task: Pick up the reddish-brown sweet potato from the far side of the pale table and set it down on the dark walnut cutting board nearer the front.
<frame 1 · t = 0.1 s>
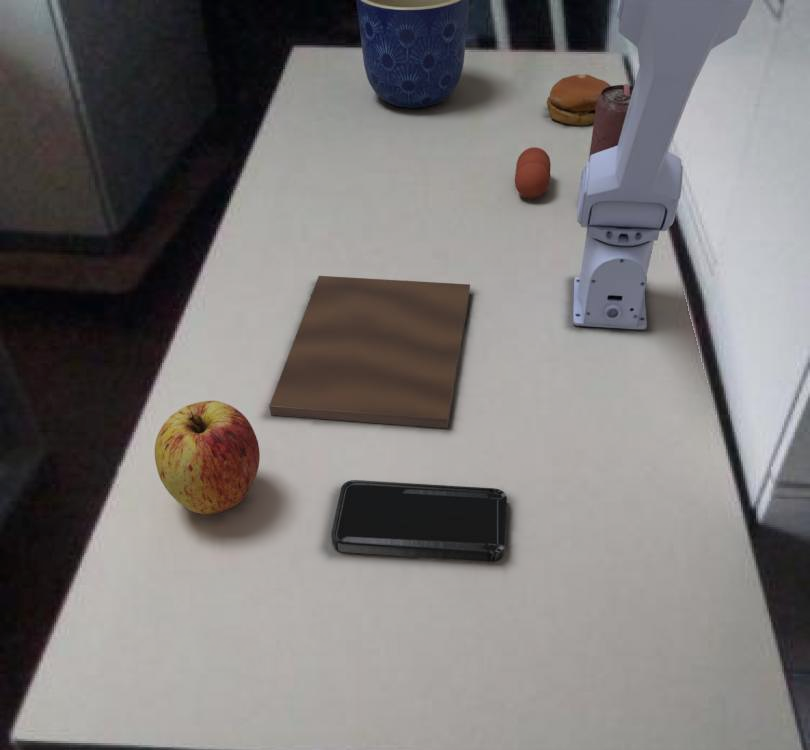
apple: (218, 499, 79), on the table
burger: (577, 114, 132), on the table
planter: (414, 98, 137), on the table
board: (377, 349, 93), on the table
can: (605, 204, 113), on the table
sweet potato: (531, 189, 116), on the table
phone: (420, 524, 76), on the table
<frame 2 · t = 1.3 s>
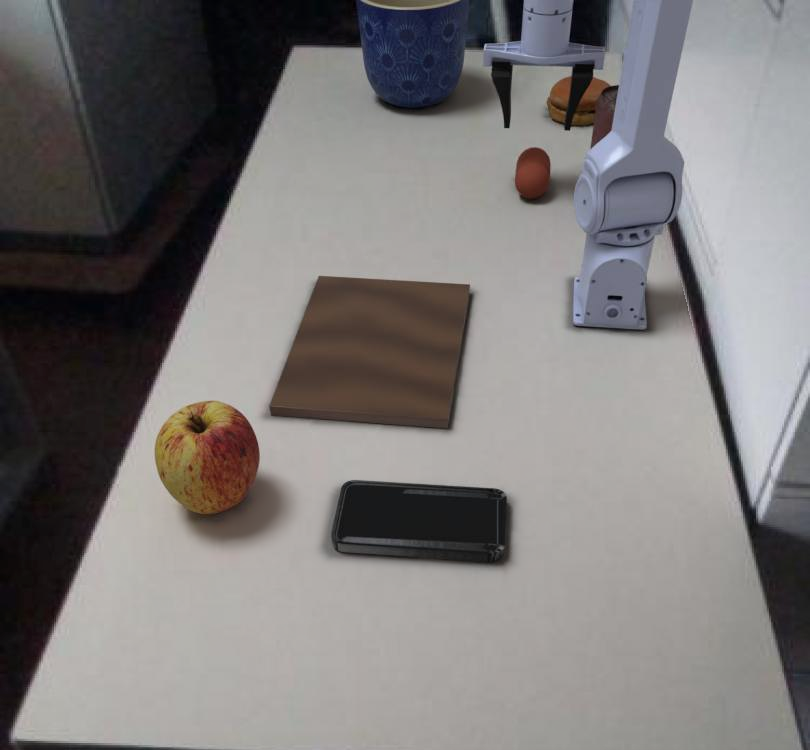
hand: (537, 126, 110), 8 cm above the table, tool pointing down, fingers open, 7 cm apart
nothing on the table moved.
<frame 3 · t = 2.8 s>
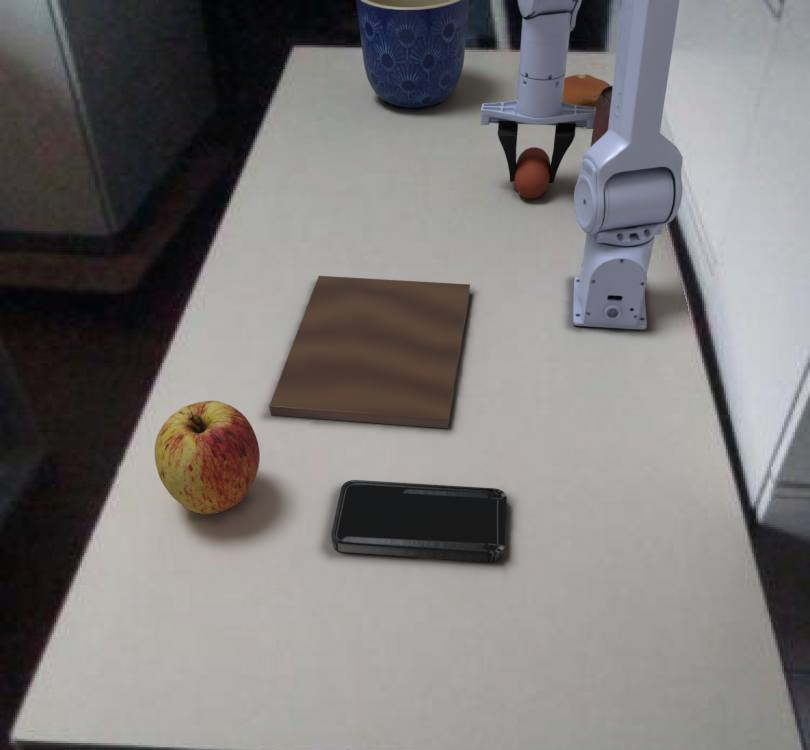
hand: (532, 179, 115), 1 cm above the table, tool pointing down, fingers closed on sweet potato, 4 cm apart
sweet potato: (531, 189, 116), on the table, touching gripper
everything else where it was.
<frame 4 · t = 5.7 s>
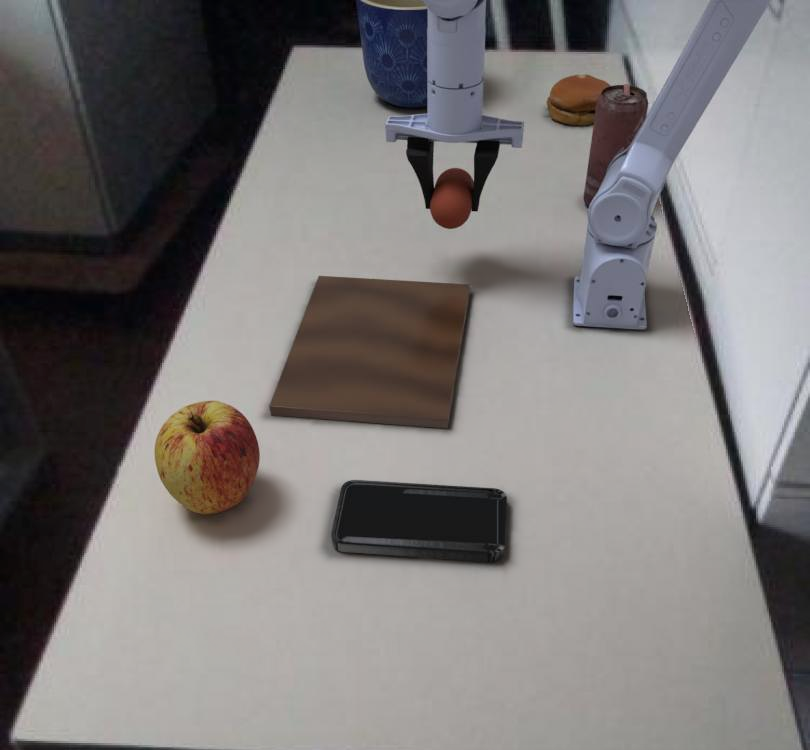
hand: (452, 206, 97), 8 cm above the table, tool pointing down, fingers closed on sweet potato, 4 cm apart
sweet potato: (452, 217, 98), point 7 cm above the table, touching gripper
everything else where it was.
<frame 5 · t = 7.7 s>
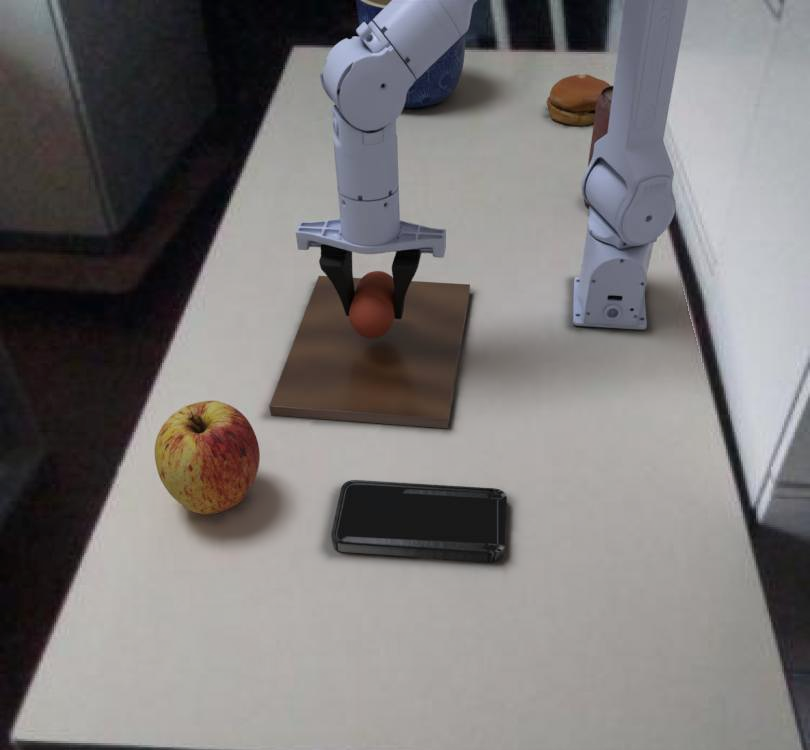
hand: (375, 312, 90), 5 cm above the table, tool pointing down, fingers closed on sweet potato, 4 cm apart
sweet potato: (375, 323, 91), point 3 cm above the table, touching gripper
everything else where it was.
when the fingers open (3 cm above the table, at t = 8.9 s): sweet potato stays where it is, resting on board.
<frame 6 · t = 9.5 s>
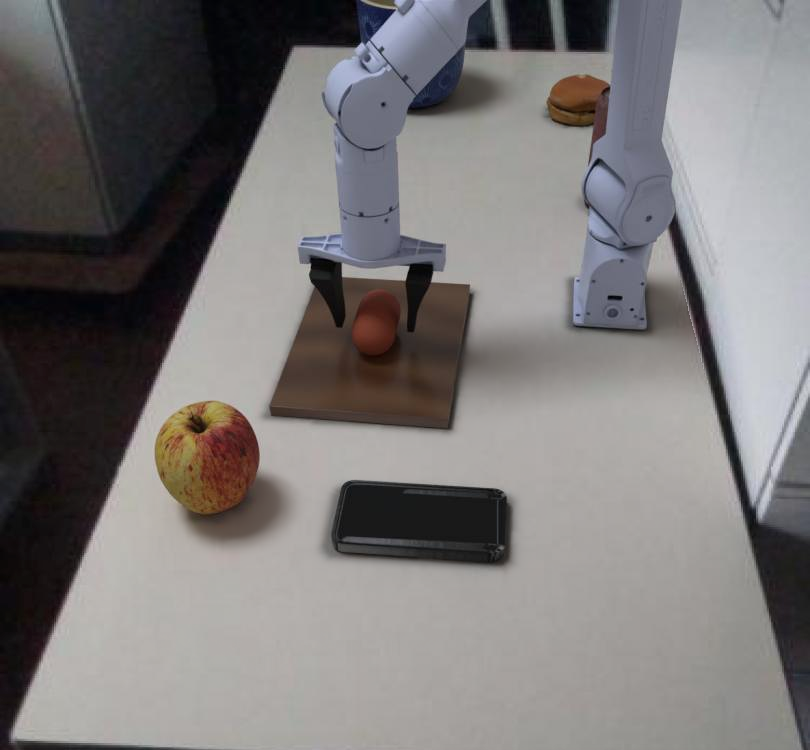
hand: (376, 324, 91), 3 cm above the table, tool pointing down, fingers open, 7 cm apart
sweet potato: (376, 340, 92), point 1 cm above the table, touching board
everything else where it was.
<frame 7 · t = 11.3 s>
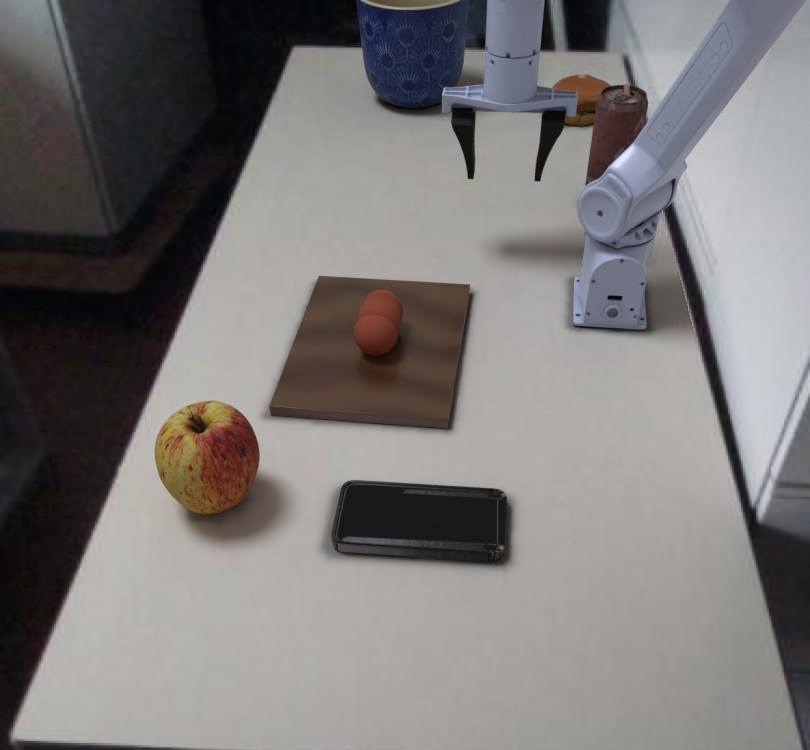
hand: (504, 176, 99), 9 cm above the table, tool pointing down, fingers open, 7 cm apart
sweet potato: (376, 340, 92), point 1 cm above the table, tilted 9°, touching board
everything else where it was.
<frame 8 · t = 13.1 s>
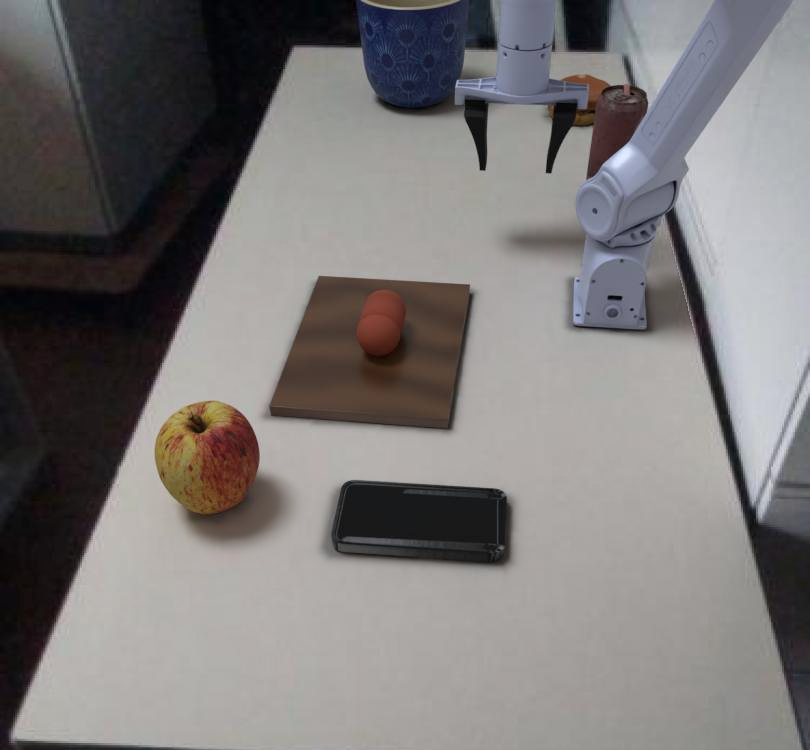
hand: (515, 168, 100), 9 cm above the table, tool pointing down, fingers open, 7 cm apart
sweet potato: (376, 339, 92), point 1 cm above the table, tilted 16°, touching board
everything else where it was.
at the end: sweet potato inside the target area on the board (0.1 cm from its centre), point 1.3 cm above the board's base; the gripper is holding nothing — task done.
